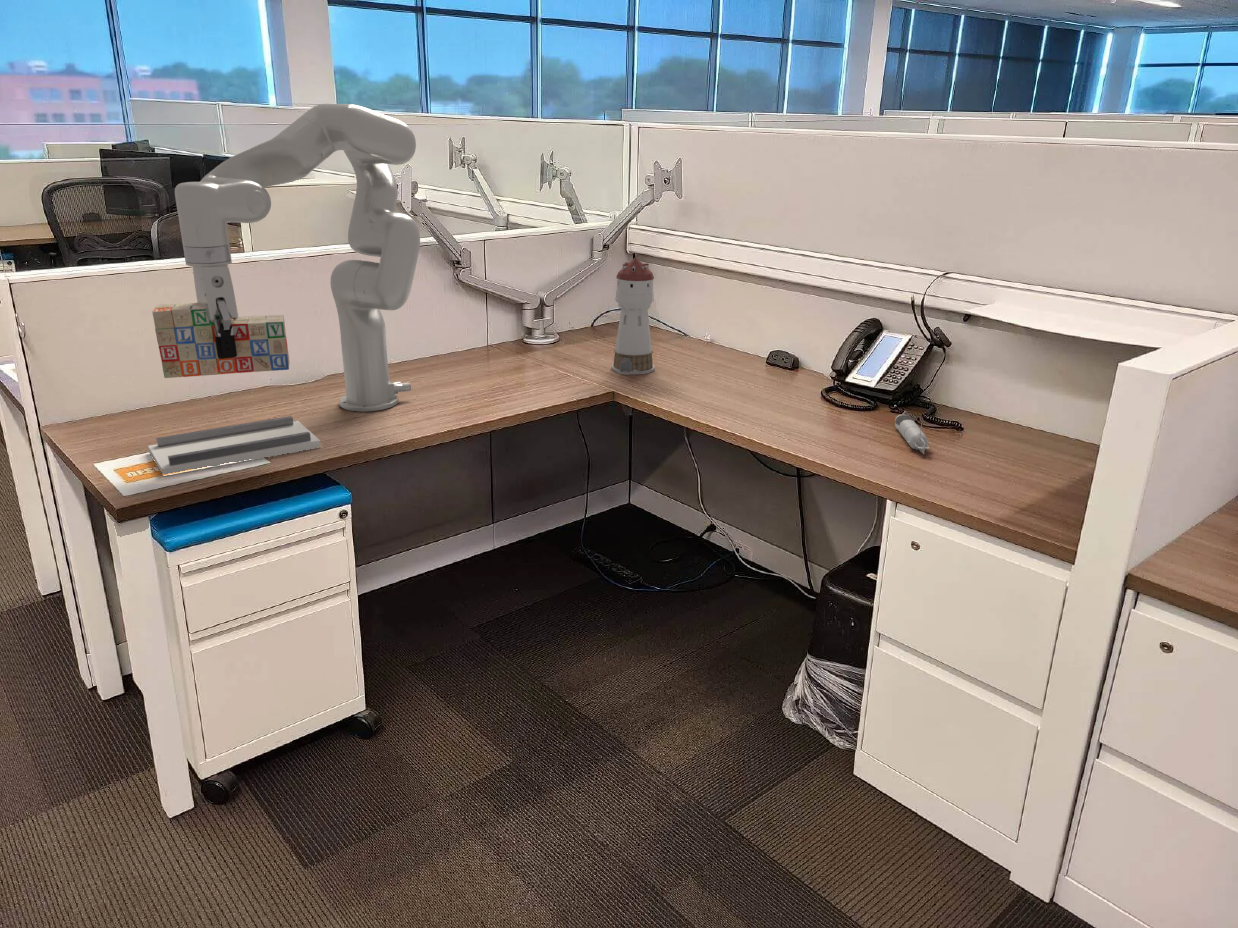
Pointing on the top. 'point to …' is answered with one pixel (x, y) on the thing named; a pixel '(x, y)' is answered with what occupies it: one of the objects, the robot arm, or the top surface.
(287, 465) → the top surface
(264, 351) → the stack of blocks
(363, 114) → the robot arm
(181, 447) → the base board
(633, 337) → the miniature model
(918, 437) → the torpedo
